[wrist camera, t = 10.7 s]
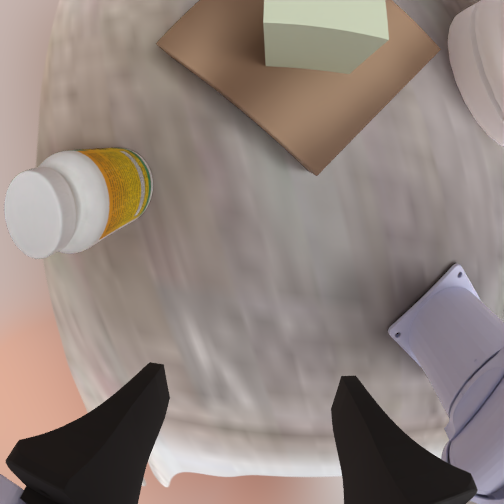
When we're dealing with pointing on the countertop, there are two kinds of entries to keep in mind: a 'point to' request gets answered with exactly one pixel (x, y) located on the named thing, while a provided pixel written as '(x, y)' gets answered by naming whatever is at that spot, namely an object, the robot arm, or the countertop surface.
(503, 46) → the honey pot
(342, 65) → the sage block
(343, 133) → the walnut base
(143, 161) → the supplement bottle
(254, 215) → the countertop surface
